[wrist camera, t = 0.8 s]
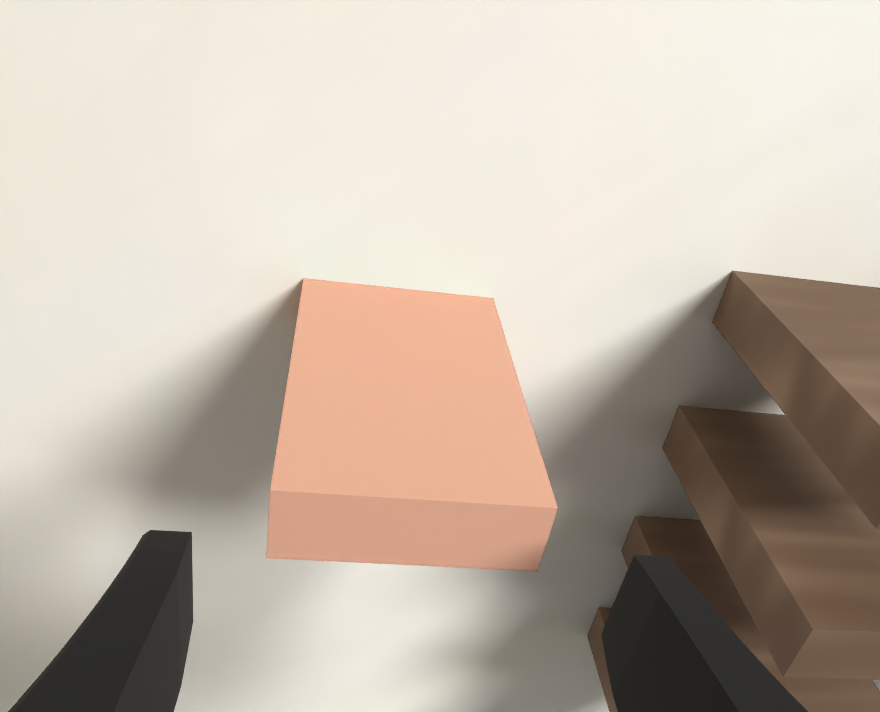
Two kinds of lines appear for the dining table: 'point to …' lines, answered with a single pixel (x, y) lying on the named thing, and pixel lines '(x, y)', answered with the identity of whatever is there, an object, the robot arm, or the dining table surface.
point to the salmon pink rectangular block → (405, 436)
